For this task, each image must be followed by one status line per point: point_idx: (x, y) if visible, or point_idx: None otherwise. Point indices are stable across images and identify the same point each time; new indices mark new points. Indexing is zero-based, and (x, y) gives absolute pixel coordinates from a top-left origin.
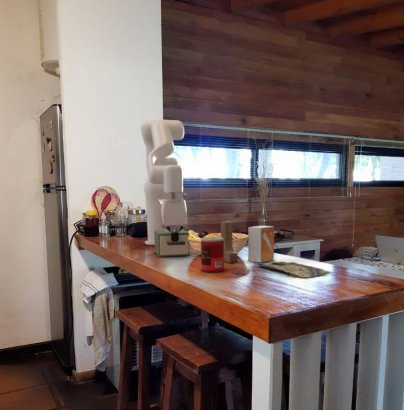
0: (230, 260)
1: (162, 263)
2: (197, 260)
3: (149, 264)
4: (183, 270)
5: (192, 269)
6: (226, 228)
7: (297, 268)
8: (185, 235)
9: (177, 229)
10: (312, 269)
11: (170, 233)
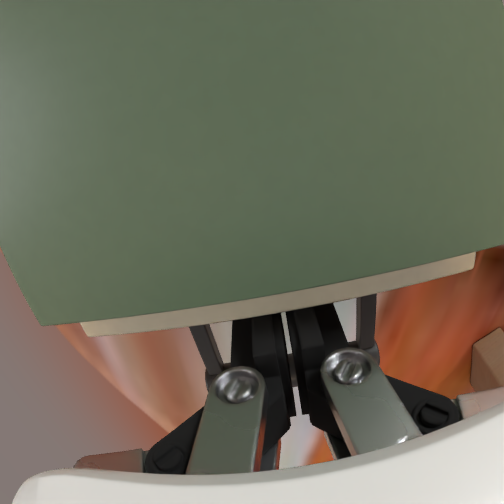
0: (474, 389)
1: (203, 389)
2: (390, 337)
3: (147, 396)
4: (292, 463)
5: (322, 455)
6: None
7: None
8: (445, 275)
9: (342, 456)
10: None
11: (216, 304)
